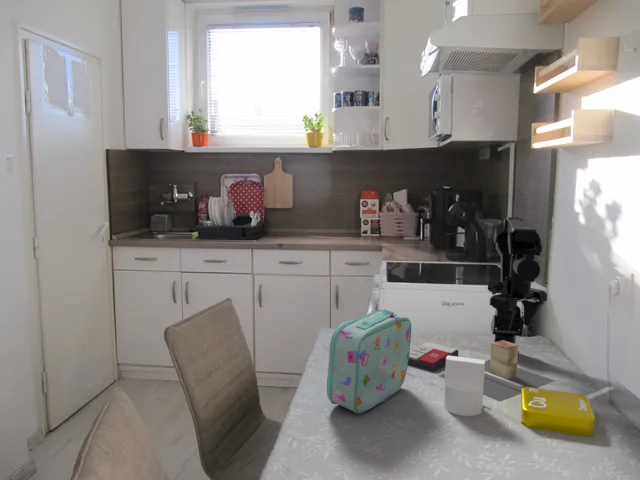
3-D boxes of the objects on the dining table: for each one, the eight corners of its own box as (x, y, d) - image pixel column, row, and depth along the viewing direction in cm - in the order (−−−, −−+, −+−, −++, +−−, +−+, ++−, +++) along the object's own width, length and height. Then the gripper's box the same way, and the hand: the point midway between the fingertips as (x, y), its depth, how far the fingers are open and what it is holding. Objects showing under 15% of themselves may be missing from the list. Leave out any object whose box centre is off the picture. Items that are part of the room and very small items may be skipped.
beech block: (500, 371, 157) (502, 340, 156) (516, 376, 153) (518, 344, 152) (489, 374, 154) (491, 343, 153) (504, 380, 150) (507, 348, 149)
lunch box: (378, 376, 153) (380, 300, 150) (412, 385, 147) (415, 306, 144) (321, 410, 132) (323, 321, 129) (358, 422, 126) (361, 330, 123)
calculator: (400, 354, 162) (426, 339, 173) (400, 368, 163) (426, 352, 174) (433, 363, 155) (459, 347, 166) (433, 377, 156) (458, 361, 167)
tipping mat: (492, 361, 167) (492, 355, 166) (554, 383, 151) (555, 376, 150) (437, 378, 153) (438, 371, 152) (499, 404, 137) (500, 396, 136)
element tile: (595, 440, 121) (596, 418, 120) (521, 428, 125) (522, 408, 125) (586, 411, 135) (587, 392, 134) (520, 402, 139) (521, 383, 139)
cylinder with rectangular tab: (483, 403, 137) (485, 356, 136) (480, 418, 129) (484, 368, 127) (445, 397, 140) (448, 351, 139) (441, 412, 132) (443, 363, 130)
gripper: (515, 265, 166) (511, 316, 168) (475, 272, 155) (471, 326, 157) (549, 271, 157) (545, 325, 159) (509, 279, 146) (506, 336, 148)
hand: (516, 328), depth 156 cm, fingers open, 9 cm apart
